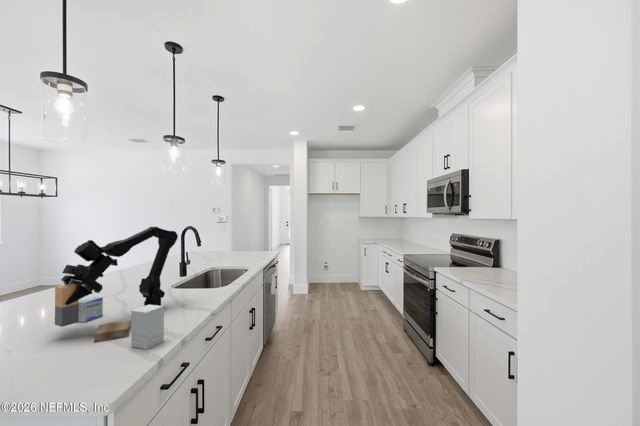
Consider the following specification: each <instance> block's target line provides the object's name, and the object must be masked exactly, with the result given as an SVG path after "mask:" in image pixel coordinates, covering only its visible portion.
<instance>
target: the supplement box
mask: <svg viewBox="0 0 640 426" xmlns="http://www.w3.org/2000/svg"><path fill="white" fill-rule="evenodd" d="M164 312H165V307H164V306H163V305H161V306H157V305H150V304H149V305H146V306H144V305H143V306H141V307H137V308H135V309H132V310H131V313H130V315H131V317H130V318H131V319H130V320H131V329H130V334H131V335H130V336H131V337H130V339H131V341H130V342H131V344H130V346H131V347H132V348H139V349H143V350H148V349H149V348H152V347H153V346H156V345H159V344H160V343H162V342H163V341H164V340H165V334H164V333H165V331H164V330H165V325H164V324H165V316H164V315H165V313H164Z"/></svg>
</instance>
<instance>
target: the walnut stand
mask: <svg viewBox="0 0 640 426" xmlns="http://www.w3.org/2000/svg"><path fill="white" fill-rule="evenodd" d="M130 333H131V319H130V320H122V321H115V322H109V323H108V322H107V323H104V324H102V323H101V324H100V325H99V326H98V328H97V329H96V331H95V332H94V334H93V343H99V342H106V341H111V340H118V339H124V338H128V337H129V334H130Z"/></svg>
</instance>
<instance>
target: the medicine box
mask: <svg viewBox="0 0 640 426" xmlns="http://www.w3.org/2000/svg"><path fill="white" fill-rule="evenodd" d="M103 303H104V298H103V297H101V296H95V297H91V298H88V299H84V300H79V322H78V323H88V322H91V321H93V319H94V320H96V319H98V318H102V317H103V314H104V313H103V310H104V309H103V308H104V305H103Z"/></svg>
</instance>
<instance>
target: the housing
mask: <svg viewBox="0 0 640 426" xmlns="http://www.w3.org/2000/svg"><path fill="white" fill-rule="evenodd" d="M75 290H76V284H67V285H65V284H62V285H57V286H54V294H55V295H54V326H58V327H60V328H61V327H62V328H63V327H66V326H70V325H73V324H77V323H80V322H79V302H80V299H79V300H77V301H75V302H73V303H71V304H69V305H66V304H65V303H66V301H67V300H68V299H69V297H70V296H71V295H72V294H73V292H74V291H75Z"/></svg>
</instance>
